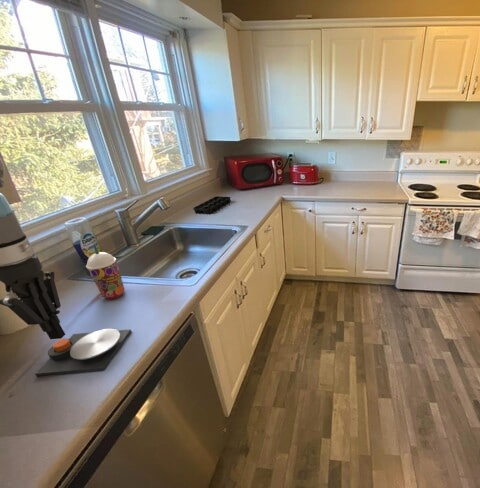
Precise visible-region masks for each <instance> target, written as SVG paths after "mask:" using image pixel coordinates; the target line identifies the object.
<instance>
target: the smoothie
mask: <svg viewBox="0 0 480 488" xmlns="http://www.w3.org/2000/svg"><path fill="white" fill-rule="evenodd" d="M93 249H94V251H95V253H93V254H91V255H90V256H89V257H88V259H87V263H86V265H85V268H86V269H87V270H88V272H89V274H90V276H91V278H92V281H93V282H94V283H95V285H96V287H97V289H98V291H99V294H101V297H103V298H104V299H105V300H115V299H118V298H120V297H121V296H122V295H124V293H125V289H126V288H125V285H124V281H123V279H122V275H121V271H120V268H119V265H118V262H117V258H116V257H115V256H113V255H112V254H110V253H109V252H105V251H98V250H99V249H98V247H97V245H93Z"/></svg>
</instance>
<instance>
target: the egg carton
mask: <svg viewBox="0 0 480 488" xmlns="http://www.w3.org/2000/svg"><path fill="white" fill-rule="evenodd" d="M230 203H231V196H217V195H216V196H214V197H211V198H209V199H208V200H206V201H204V202H202V203H200V204H197V205H196V206H194V207H193V208H192V210H193V211H194V213H195V214H205V215H209V214H210V215H211V214H212V213H214V212H216V211H218V209H221V208H222V207H224V206H226V205H227V204H230Z"/></svg>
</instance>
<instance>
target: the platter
mask: <svg viewBox="0 0 480 488" xmlns="http://www.w3.org/2000/svg"><path fill="white" fill-rule="evenodd" d="M118 330H119V329H116V328H103V329H99V330H95V331H93V333H92V332H89V333H90V334H88V335H86V336H85V337H83V338H81V339H80V340H79V341H77V342H76V343H75V344H74V345H73V347H72V348H71V350H70V355H71V357H72V358H74V359H77V360H85V359H90V358H93V357H96V356H98V355H101V354H103V353H105V352H106V351H108V350H109V349H111V348H112V347H113V346H114V345H115V344H116V343H117V342H118V340H119V338H120V333H119V331H118Z"/></svg>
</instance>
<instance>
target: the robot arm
mask: <svg viewBox="0 0 480 488" xmlns="http://www.w3.org/2000/svg"><path fill="white" fill-rule="evenodd" d="M8 201H9V200H8V199H7V198H6V196H5V195H4V194H3V193H1V192H0V282H1V283H3V285H4V287H5V289H4V290H5V291H6V293H7V294H6V295H5V298H0V305H1V306H4V307H7V308H8V309H9V310H11V311H12V312H13V313H14V314H15V315H16V316H17V317H19V318H20V319H21V320H22V321H23V322H24V323H26V324H27V325H28V326H33V325H34V326H35V325H39V327H40V328H41V331H42V332H43V333H46V335H47V337H48V338H49V340H61V339H63V338H64V337H65V336H66V333H65V330H64V329H63V327H62V326H61V324H60V323H61V320H60V318H59V317H58V315H59V314H60V313H61V310H60V308H61V306H62V305H61V300H60V297H59V293H58V290H57V289H58V288H57V285H56V282H55V272H54V271H43V265H42V263H41V261H40V259H39V257H38V256H37V254H35V250H34V248H33V246H32V245H31V243H30V241H29V239H28V237H27V235H26V233H25V232H24V230H23V228H22V226H21V223H20V222H19V220H18V218H17V216H16V213H15V210H14V208H13V207H12V206H11V205H10V203H9V202H8Z"/></svg>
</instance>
